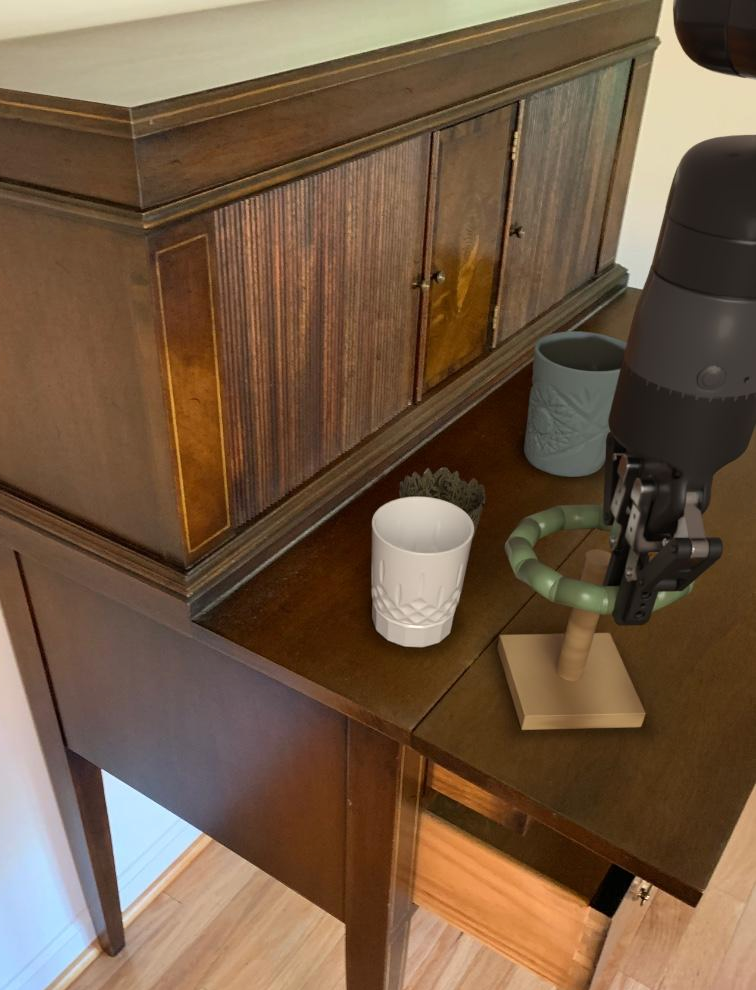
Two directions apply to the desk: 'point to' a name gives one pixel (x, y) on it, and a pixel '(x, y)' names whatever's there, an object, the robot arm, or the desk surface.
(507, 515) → the desk surface
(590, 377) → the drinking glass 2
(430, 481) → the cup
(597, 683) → the post
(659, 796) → the desk surface
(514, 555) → the ring
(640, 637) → the desk surface
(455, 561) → the white cup
